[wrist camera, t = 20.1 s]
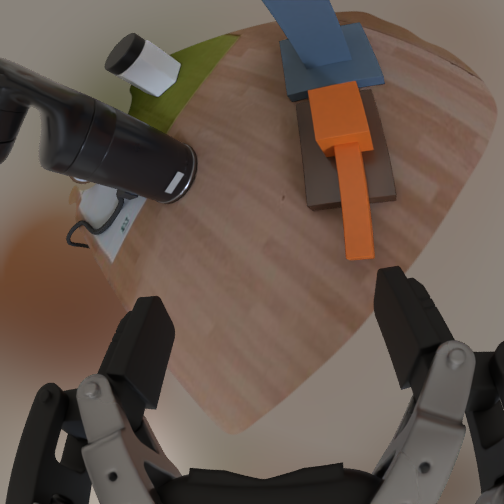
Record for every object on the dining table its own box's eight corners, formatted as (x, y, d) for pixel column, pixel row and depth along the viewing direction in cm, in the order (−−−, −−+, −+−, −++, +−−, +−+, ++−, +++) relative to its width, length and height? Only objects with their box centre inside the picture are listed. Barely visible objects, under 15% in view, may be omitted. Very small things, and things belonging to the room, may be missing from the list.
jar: (177, 55, 43) (135, 25, 33) (185, 74, 41) (138, 41, 31) (146, 83, 47) (103, 58, 37) (150, 105, 45) (102, 79, 34)
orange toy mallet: (336, 261, 25) (326, 259, 22) (318, 110, 27) (307, 90, 24) (388, 257, 23) (388, 254, 20) (362, 102, 25) (355, 80, 21)
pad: (312, 210, 29) (306, 206, 27) (301, 112, 30) (295, 104, 29) (396, 200, 25) (396, 195, 23) (373, 98, 26) (371, 88, 24)
